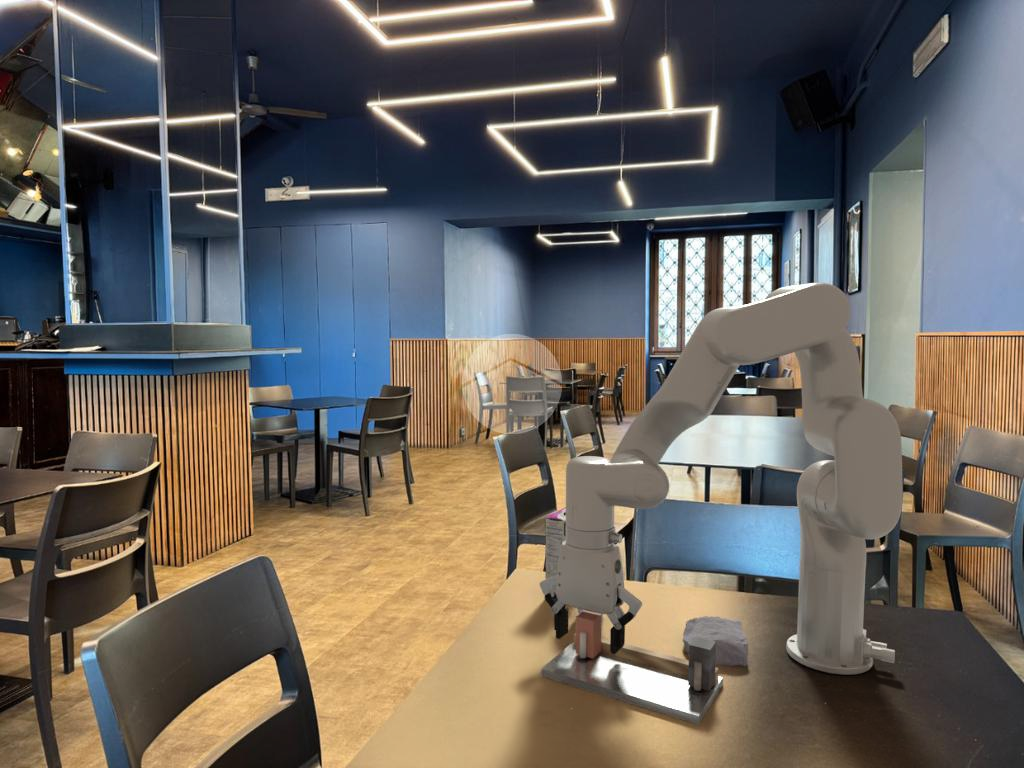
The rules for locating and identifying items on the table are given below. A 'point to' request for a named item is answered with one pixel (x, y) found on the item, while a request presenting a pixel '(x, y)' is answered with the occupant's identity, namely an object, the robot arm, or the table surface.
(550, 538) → the candy bar box
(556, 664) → the bolt plate
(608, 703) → the table surface
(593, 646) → the block
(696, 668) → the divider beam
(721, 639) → the stone block
